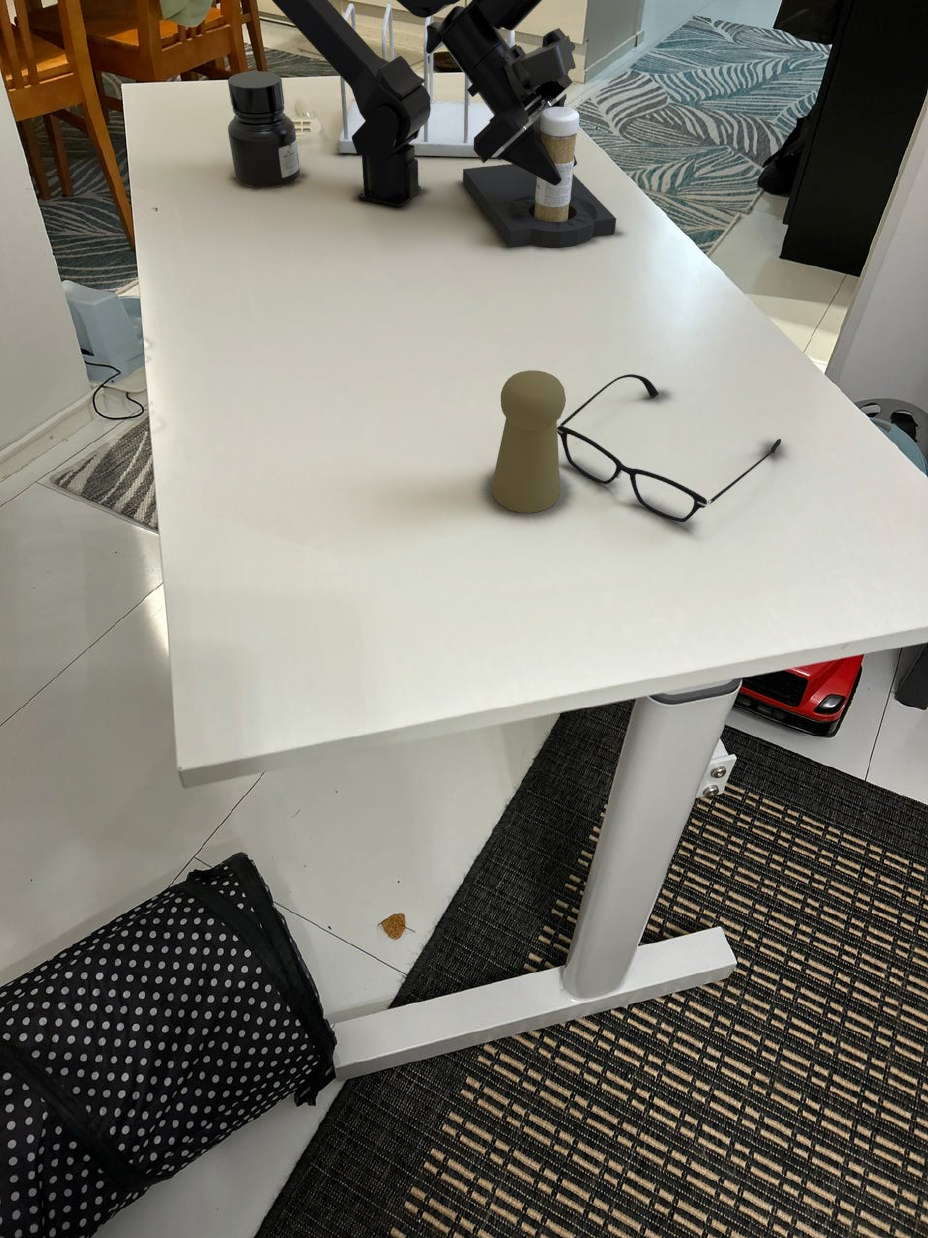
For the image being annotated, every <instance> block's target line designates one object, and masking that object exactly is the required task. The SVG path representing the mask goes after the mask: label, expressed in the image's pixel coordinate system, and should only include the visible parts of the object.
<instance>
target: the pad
mask: <svg viewBox="0 0 928 1238" xmlns="http://www.w3.org/2000/svg"><path fill="white" fill-rule="evenodd" d="M536 184H537V176H536V175H534V174H532V173H530V172H528V171H526V170H524V169H522V168H520V167H518V166H516V165H514V164H512V163H507V164H497V165H487V166H479V167H470V168H468V167H467V168H463V169H462V185H463V186H464V188H465V189H466V190H467V192H468V193H469V194H470V196H471V197H472V199H473V200H474V201H475V202H476V204H477V205H478V207H479V209H481V210H482V213H484V215H485V216H486V217H487V219H488V220H489V221H490V223H491V224H492V225H493V227H494V228H495V229H496V231H497V232H498V233H499V235H500V236H501V238H502V239H503V240H504V242H505V243H506V245H507V246H508V248H515V247H523V246H531V245H534V246H538V247H544V248H565V247H572V246H574V247H575V246H578V245H580V244H583V243H586V242H589V241H590V240H591V239H592V238H597V237H603V236H611V235H615V231H616V226H617V225H616V224H617V217H616V216H614V214H613V213H612V212H611V211H610V210H609V209H608V208H607V207H606V206H605V205H604V204H603V203H602V202H601V201H600V199H598V198H597V197H596V196H595V195H594V194H593V193H592V191H591V190H590V189H589V188H587V186H586V185H585V184H584V183H583V182H582V181H581V180H580V179H579V178H578V177H577V176H576V175H575V174H574V173H573V177H572V187H571V197H570V202H569V208H568V219H567V221H561V222H547V221H542V220H538V219H536V218H534V216H535V204H536V199H535V197H536Z"/></svg>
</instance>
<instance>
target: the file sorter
mask: <svg viewBox="0 0 928 1238" xmlns="http://www.w3.org/2000/svg"><path fill="white" fill-rule="evenodd" d="M342 17H343V18H344V19H345V20H346V21H347V22H348V21H349V18H351V19H350V20H351V27H352V28H353V29H354V30H355V31H356V32H357V24H356V23H357V21H356V12H355V6H354V4H353V3H348V5H347V7H346V10H345V12H344V15H343V16H342ZM424 22H425V23H424V29H423V30H424V31H423V79H424V80H425V82H424V83H423V86H424V87H425V88H426V90H427V92H428V93H429V96H430V105H431V111H430V117H429V119H428V121H427V123H425V124H424V125H423V126H422V127H421V128H420V131H419V134H418V137H417V138H416V139H413V140H412V141H411V142H410V143H409V144H410V145H414V148H415V156H429V157H430V156H435V157H467V158H469V157H470V158H479V157H478V155H477V154H476V153H475V151H474V137H475V136H476V135H477V134H478V133H479V132H481V131H482V130H483V129H484V128H485V127H486V126H487V125H488V124H489V123H490V121H489V120H490V119H491V118H492V117H493V116H494V115H493V113H492V112H491V111H490V109H489V108H488V106H487V105H486V103H485V102H471V95H470V93H469V92H468V90H467V89H468V88H469V87H470V86H471V82H470V81H469V80H468V78H467V77H466V75H465V74H464V101H440V100H439V101H438V100H434V52H432V53H431V54H428V53H427V52H426V43H427V26H428V25H430V24H431V23H433V22H434V15H432V16H430V17H427V18H425V21H424ZM393 23H394V22H393V9H392V3H387V4H386V8H385V11H384V16H383V20H382V26H381V58H382V59H384V60H386V61H388V60H387V30H388V40H389V58H390V60H389V62H390V61H392V60H393V59H395V47H394V46H395V45H394V25H393ZM515 29H516V28H515ZM515 29H514V30H506V31H507V32H506V42H507V44H508V45H509V47H510V48H511V47H513V46H514V45H515V37H516V36H515V35H516V33H515V32H516V30H515ZM339 79H340V80H339V81H340V82H339V83H340V95H341V108H342V109H341V110H342V124H343V125H342V129H341V133H340V136H339V138H338V149H339V153H341V154H342V153H344V154H357V152H356V149H355V147H354V144H353V141H352V135H353V134H354V133H355V132H356V131H357V130H358V129H359V128H360V127H361V126H362V124H363V123H364V122H365V120H364V118H363V117H362V115H361V114H360V112H359V109H358V106H357V103H356V100H355V98H352V99H351V100H350V104H349V106H348V110H347V92H346V91H347V90H346V81H345V80H344V79H343V78H342V77H341V76H340V75H339ZM503 150H504V148H503V147H501V148H500V149H499V150H498V151H497V152H496V153H495V154H494V155H493V156H492V157H491V158H497V156H498V155H499V154H500V153H501V152H502V151H503Z"/></svg>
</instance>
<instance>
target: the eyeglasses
mask: <svg viewBox="0 0 928 1238" xmlns="http://www.w3.org/2000/svg"><path fill="white" fill-rule="evenodd" d="M626 378H633V379H638V380H639V381H640V382H641V383H642V384H643V385H644V387H645V389H646V391H647V393H648V395H649V397H650V398H652V397H657V396H659V395H660V393H659V392H658V389H656V387H655V385H654V384H653V383H652V381H650V380H649V379H648V378H646V377H644V376H642V375H638V374H632V373H630V374H624V375H621V376H618V377H617V378H614V379H613V380H611V381H610V382H609V383H607V384H606V385H604V386H603V387H602V388H601V389H600V390H599V391H597V392H596V393H595V394H593V396H591V397H590V398H589V399H587V400H586V402H584V403H583V404H582V405H581V406H579V407H578V408H577V409H576V410H574V412H573V413H571V414H570V415H569V416H568V417H567V418H565V419H564V420H563V421H562V422H561V423H560V424H558V425H557V435H558V436H559V437H560V440H561V443H562V447H563V450H564V454H565V457H566V460H567V461H568V463H569V465H571V466H572V467H573V468H574V469H575V470H576V471H578V472H579V473H581V474H583V475H584V476H586V477H587V478H588V479H590V480H593V481H594V482H596V483H599V484H602V485H608V484H610V483H611V482H613V481H614V480H615V479H620V478H621V477H622V475H621V474H622V473H626V474H627V475H629V480H630V483H631V487H632V489H633V492H634V495H635V497H636V499H637V501H638V502H639V504H641V505H642V506H643V507H645V508H646V509H648V510H650V511H651V512H653V513H655V514H657V515H658V516H661V517H663V518H666V519H669V520H671V521H675V522H678V523H685V522H687V521H688V520H689V519H690V518H692V517H693V516H694V515H695V514H696V512H697V511H698V510H699V509H705V508H706V507H708V506H710V505H711V504H713V503H714V502H715V501H716V500H718V499H719V498H720V497H721V496H723V494H725V493H726V492H727V491H728V490H730V489H731V488H732V487H733V486H734V485H736V484H737V483H738V482H739V481H740V480H741V479H743V478H744V477H745V476H746V475H748V474H749V473H750V472H751V471H752V470H754V469H755V468H756V467H757V466H759V464H761V463H762V462H763V461H764V460H765V459H766V458H768V457H769V456H770V455H772V454H775V452H776V450H777V448H778V447H780V446H781V443H782V439H781V438H778V439H777V440H775V442H774V443H773V445H772V446H771V448H770V451H769V452H767V454H765V455H764V456H763V457H762V458H760V460H758V461H757V462H755V464H753V465H752V466H751V467H750V468H748V469H747V470H746V471H745V472H743V473H742V474H740V475H739V476H738V477H737V478H736V479H735V480H733V481H732V482H731V483H729V484H728V485H727V486H725V488H723V489H722V490H720V492H718V493H717V494H716V495H715V496H713V497H711V499H708V500H707V498H705V497H704V496H702V495H701V494H699V493H697V492H696V491H694V490H692V489H691V488H688V487H687V486H685V485H683V484H680V483H679V482H676V481H674V480H672V479H670V478H667V477H665V476H663V475H661V474H657V473H654V472H650V471H648V470H644V469H639V468H634V467H633V468H632V467H629V466H626V465H625V464H623V462H622V461H621V460H620V459H619V458H618V457H616V456H615V455H614V454H612V452H610V451H608V450H607V449H606V448H604V447H603V446H601V445H600V444H598V443H597V442H595V441H594V440H593V439H592V438H591V439H590V438H589V437H587V436H586V435H584V434H581V433H579V432H577V431H575V430H573V429H571V428H569V427H566V426H565V425H566V424H568V422H570V421H571V420H572V419H573V418H574V417H575V416H577V415H578V414H579V413H580V412H581V411H582V410H583V409H584V408H585V407H586V406H588V405H589V404H590V403H591V402H592V401H593V400H594V399H595V398H597V397H598V396H599V395H600V394H601V393H602V392H603V391H604V390H606V389H607V388H609V387H610V386H611V385H612V384H614V383H615V382H617V381H619V380H622V379H626ZM568 435H570V436H573V437H575V438H577V439H579V440H581V441H582V442H585V443H587V444H588V445H590V446H592V447H594V448H595V449H596V450H598V451H599V452H601V453H602V454H603V455H604V456H605V457H607V458H608V459H610V460H611V461H612V462H613V463H614V464H615V470H614V473H613V474H612V476H611V477H610V478H608V479H607V480H603V479H601V478H597V477H596V476H594V475H592V474H591V473H589V472H587V471H586V470H584V469H583V468H581V467H580V466H578V464H576V463H575V462H574V460H573V458H572V457H571V454H570V453H571V452H570V450H569V445H568ZM637 475H640V476H645V477H649V478H651V479H654V480H657V481H660V482H663V483H664V484H667V485H669V486H672V487H674V488H675V489H678V490H679V491H681V492H683V493H685V494H686V495H688V496H689V497H691V498H692V499H693V506H692V509H691V511H690V512H689V513H688V514H687V515H686V516H684V517H683V518H681V517H677V516H674V515H671V514H668V513H666V512H663V511H660V510H659V509H656V508H655V507H653V506H651V505H650V504H648V503H646V502H645V501H644V499H643V497H642V496H641V494H640V491H639V489H638V484H637V478H636V477H637Z"/></svg>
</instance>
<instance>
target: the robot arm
mask: <svg viewBox="0 0 928 1238" xmlns="http://www.w3.org/2000/svg"><path fill="white" fill-rule="evenodd" d="M271 1H272V3H274V5H275V6H276V7H277V8H278V9H279V10H280V11H281V13H283V14H284V16H285V17H286V18H287V19H288V20H289V21H290V22H291V23H292V25H294V27H296V29H298V31H299V32H300V33H301V34H302V35H303V36H304V38H305V39H306V40H307V41H308V42H309V43H310V44H311V45H312V46H313V47H314V49H315V50H316V51H317V52H318V53H319V54H320V55H321V56H322V57H323V58H324V59H325V61H326V62H327V63H328V64H329V65H330V66H331V67H332V68H333V69H334V71H335V72H337V74H338V75H339V77H340V76H341V77H342V78H343V79H344V80H345V83H346V84H347V85H348V86H349V88H350V89H351V91H352V94H353V97H354V99H355V100H356V103H357V106H358V109H359V112H360V114H361V115H362V117H363V118H364V120H365V122H364V123H363V124H362V126H361V127H360V128H359V129H358V130H357V131H356V132H355V133H354V134H353V135H352V141H353V144H354V147H355V149H356V152H357V153H356V154H357V155H360V156H361V165H362V167H361V168H362V179H363V180H362V182H363V189H362V190H361V191H360V192H359V193H358V194H357V198H358V200H361V201H362V200H363V201H367V202H372V203H376V204H381V205H387V206H391V207H396V208H401V207H403V206H404V205H405V204H406V203H408V202H409V201H410V200H412V199H413V198H414V197H415V196H417V194H419V193H420V192H421V191H422V186H421V185H419V161H418V159H417V158H416V157H415V156H416V155H415V148H414V145H410V144H409V143H410V142H411V141H412V140H413V139H416V138H417V137H418V134H419V131H420V128H421V127H422V126H423V125H424V124H425V123H427V121H428V119H429V117H430V111H431V105H430V96H429V91H428V92H427V90H426V88H425V87H424V82H425V80H424V77H421V76H419V75H418V74H417V73H416V72H415V71H414V70H413V68H412V67H411V66H410V64H409V63H408V61H407V60H406V58H404V57H403V56H402V55H398V56H397V57H394V59H393V60H392V61H390V60H389V61H388V60H387V61H386V60H384V59H382V57H380V56H379V55H378V54H376V52H375V51H374V50H373V48H371V47H370V46H369V45H368V43H366V42H367V41H365V40H364V39H363V38H362V37H361V35H360V34H358V32H357V30H356V31H355V30H354V29H353V28H352V25H350V23H349V22H348V21H346V20H345V19H344V18H343V17H344V16H343V15H342V14H341V13H340V12H339V11H338V10H337V8H336V7H334V5H333V4H332V3H331V2H330V1H329V0H271ZM395 1H396V2H397V3H399V4H400V5H401V6H402V7H403V8H404V9H406V10H407V11H408V12H409V13H410V14H412V15H413V16H415V17H418V18H421V19H426V18H427V17H430V16H432V15H433V16H434V15H435V14H438V13H439V12H441V11H443V10H444V9H446V8H447V7H449V6H451V5H455V4H457V3H459V2H460V1H461V0H395ZM542 1H543V0H471V1H470V2H469V3H468V4H467V5H466V6H462V5H456V6H454V7H453V8H452V9H451V10H450V11H449V12H448V13H447V14H446V15H445V17H444V18H443V19H442V20H441V21H440V22H439V21H433V23H431V24H430V25H428V26H427V43H426V52H427V53H428V55H429V54H431V53H432V52H433V53H435V52H436V51H437V50H439V49H441V48H442V47H443V46H444V47H445V49H446V50H447V51H448V53H449V54H450V56H451V57H452V59H453V60H454V61H455V62H456V64H457V65H458V67H459V69H460V70H461V72H462V73H463V74H464V76H465V75H466V77H467V78H468V80H469V81H470V87H469V88H468V89H467V90H468V92H469V93H470V97H472V98H474V97H475V96H476V95H479V97H480V98H481V99H482V101H483V103H486V105H487V106H488V108H489V109H490V111H491V112H492V113H493V115H494V116H493V117H492V118H491V119H490V120H489V121H490V123H489V124H488V125H487V126H486V127H485V128H484V129H483V130H482V131H481V132H479V133H478V134H477V135H476V136H475V137H474V151H475V153H476V154H477V155H478V157H477V158H479V160H480V161H481V162H482V163H483V164H485V163H486V162H487V161H489V159H491V158H493V157H492V156H493V155H494V154H495V153H496V152H497V151H498V150H499V149H500V148H501V147H503V148H504V150H503V151H502V152H501V153H500V154H499V155H498V156H497V157H496V159H497V160H498V161H501V160H503V161H506V162H507V163H509V164H514V165H516V166H518V167H520V168H522V169H524V170H526V171H528V172H530V173H532V174H534V175H536V176H537V177H539V178H541V179H543V180H545V181H547V182H548V183H550V184H552V185H554V186H556V185H557V184H559V183H560V182H561V181H562V178H561V176H560V174H559V172H558V170H557V168H556V166H555V164H554V162H553V160H552V159H551V157H550V155H549V153H548V151H547V150H546V148H545V146H544V144H543V142H542V140H541V139H540V138H541V133H540V131H541V130H540V117H541V112H542V111H543V110H545V109H547V108H551V107H565V103H566V100H567V93H565V94H563V95H562V96H561V97H560V98H559V99H557V98H558V97H559V96H560V95H561V94H562V93H563V92H564V91H565V90H567V89H568V88H569V87H570V86H571V85H572V84H573V80H572V79H571V77H570V76H569V72H570V71H571V70H574V69H576V68H577V66H576V62H575V58H574V55H573V52H574V51H575V49H576V44H575V42H574V41H571V38H570V35H566V34H565V33H564V32H563V31H562V29H561V28H560V27H558V28H555V29H553V30H551V31H548V32H547V33H545V34H544V35H543V36H542V45H541V46H539V47H537V48H536V49H534V50H532V51H529V52H527V53H526V51H525V50H524V49H523V47H522V46H521V45H517V43H516V44H515V43H514V46H513V47H511V48H510V47H509V45H508V44H507V40H506V39H505V38H504V36H503V35H502V34H501V31H499V30H502V29H504V30H506V31H507V30H514V29H517V27H518V26H519V25H520V24H521V23H522V22H523V21H524V20H525V19H526V18H527V17H528V16H529V15H530V14H531V13H532V12H533V11H534V9H536V7H538V6H539V5H540V3H542ZM577 165H578V161H577V158H576V155H575V154H574V167H573V168H575V167H576V166H577Z"/></svg>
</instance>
